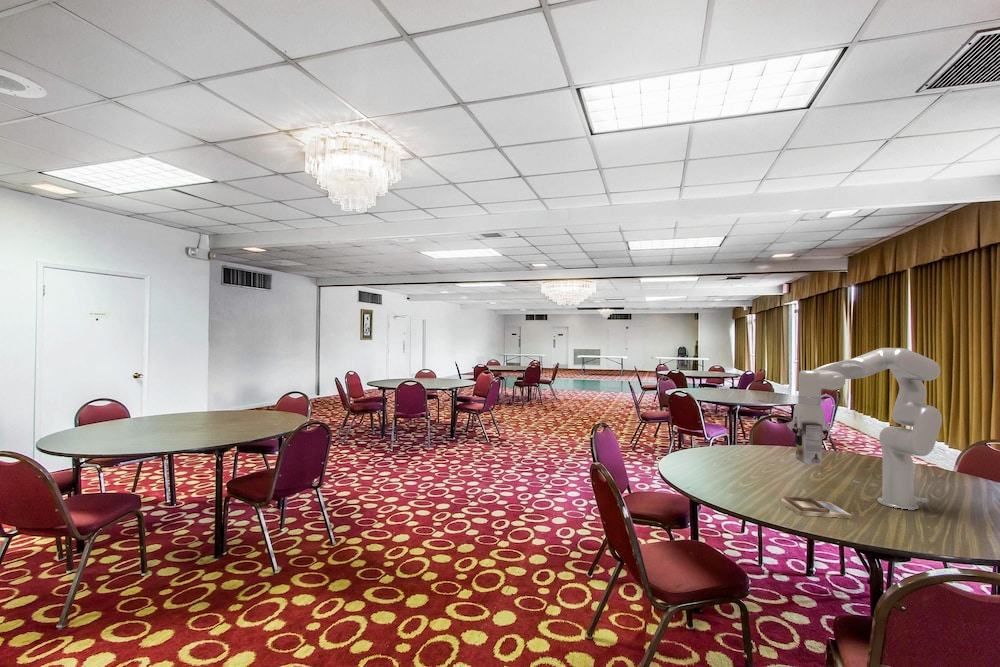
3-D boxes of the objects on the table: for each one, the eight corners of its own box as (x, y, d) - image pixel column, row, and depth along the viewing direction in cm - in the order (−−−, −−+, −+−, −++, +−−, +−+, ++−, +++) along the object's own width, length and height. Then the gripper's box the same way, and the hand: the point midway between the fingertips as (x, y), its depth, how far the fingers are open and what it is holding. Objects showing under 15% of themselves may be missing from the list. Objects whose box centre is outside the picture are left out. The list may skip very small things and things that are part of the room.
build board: (828, 505, 183) (828, 498, 183) (851, 518, 169) (851, 511, 169) (781, 502, 185) (781, 495, 185) (798, 515, 171) (798, 508, 171)
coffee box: (794, 458, 188) (795, 419, 188) (812, 460, 187) (812, 420, 187) (804, 464, 179) (805, 423, 179) (822, 465, 178) (823, 424, 178)
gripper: (827, 401, 186) (827, 445, 185) (781, 399, 188) (781, 442, 188) (838, 403, 178) (837, 449, 178) (790, 401, 181) (789, 446, 181)
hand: (808, 445), depth 183 cm, fingers closed on coffee box, 6 cm apart
